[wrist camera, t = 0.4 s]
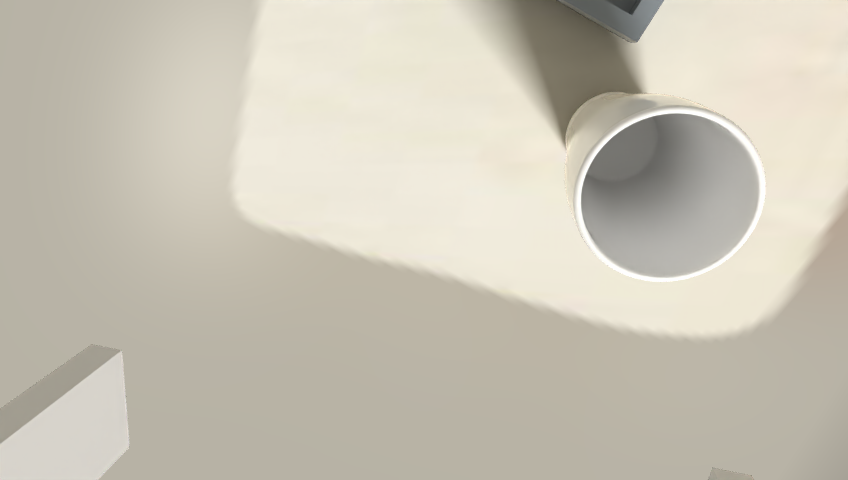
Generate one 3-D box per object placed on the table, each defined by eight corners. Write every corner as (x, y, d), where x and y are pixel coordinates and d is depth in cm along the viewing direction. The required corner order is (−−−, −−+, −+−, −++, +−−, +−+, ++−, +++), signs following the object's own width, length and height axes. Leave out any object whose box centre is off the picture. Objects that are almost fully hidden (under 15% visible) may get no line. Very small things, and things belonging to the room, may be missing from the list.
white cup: (531, 158, 36) (536, 231, 22) (591, 56, 34) (639, 66, 20) (626, 210, 36) (691, 316, 22) (693, 112, 34) (814, 162, 20)
